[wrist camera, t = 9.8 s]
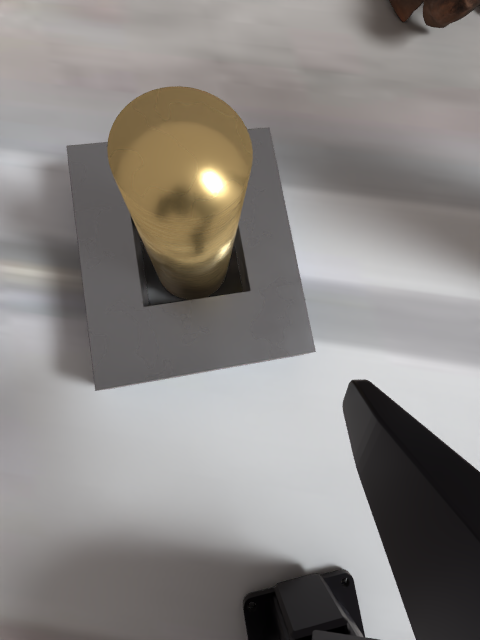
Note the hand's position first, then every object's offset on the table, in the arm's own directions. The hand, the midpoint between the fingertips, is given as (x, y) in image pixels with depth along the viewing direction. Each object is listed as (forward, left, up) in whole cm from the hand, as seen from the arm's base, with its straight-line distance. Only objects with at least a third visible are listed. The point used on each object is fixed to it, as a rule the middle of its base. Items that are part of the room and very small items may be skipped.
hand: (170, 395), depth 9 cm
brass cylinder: (+8, -1, -14) cm, 16 cm away
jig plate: (+8, -1, -14) cm, 16 cm away
